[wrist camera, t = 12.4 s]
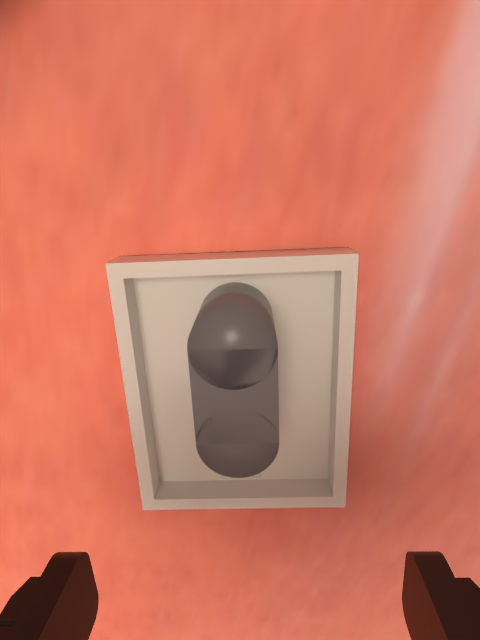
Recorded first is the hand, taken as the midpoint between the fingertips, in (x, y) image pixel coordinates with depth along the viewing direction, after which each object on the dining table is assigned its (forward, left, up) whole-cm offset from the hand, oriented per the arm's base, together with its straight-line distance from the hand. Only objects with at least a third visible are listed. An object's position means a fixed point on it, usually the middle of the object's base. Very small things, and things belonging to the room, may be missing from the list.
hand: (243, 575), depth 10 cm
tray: (0, 0, -12) cm, 12 cm away
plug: (0, -1, -11) cm, 11 cm away
